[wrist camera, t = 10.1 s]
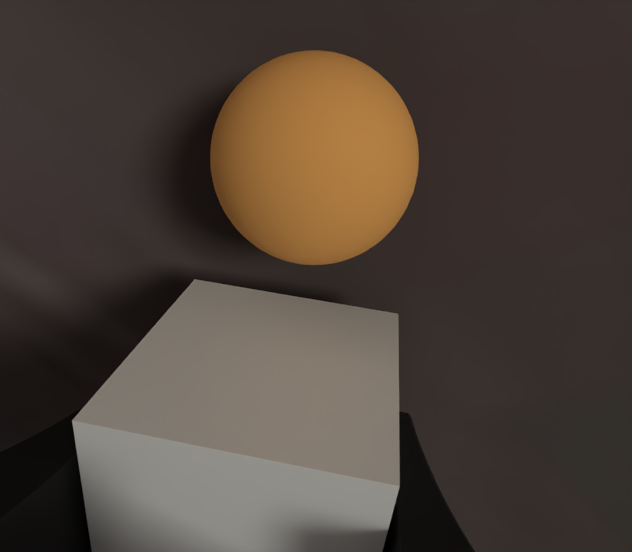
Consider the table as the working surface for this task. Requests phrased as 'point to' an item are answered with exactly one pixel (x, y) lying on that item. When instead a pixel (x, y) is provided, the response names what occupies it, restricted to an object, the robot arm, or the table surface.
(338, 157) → the ball
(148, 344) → the pale grey cube
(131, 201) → the table surface
